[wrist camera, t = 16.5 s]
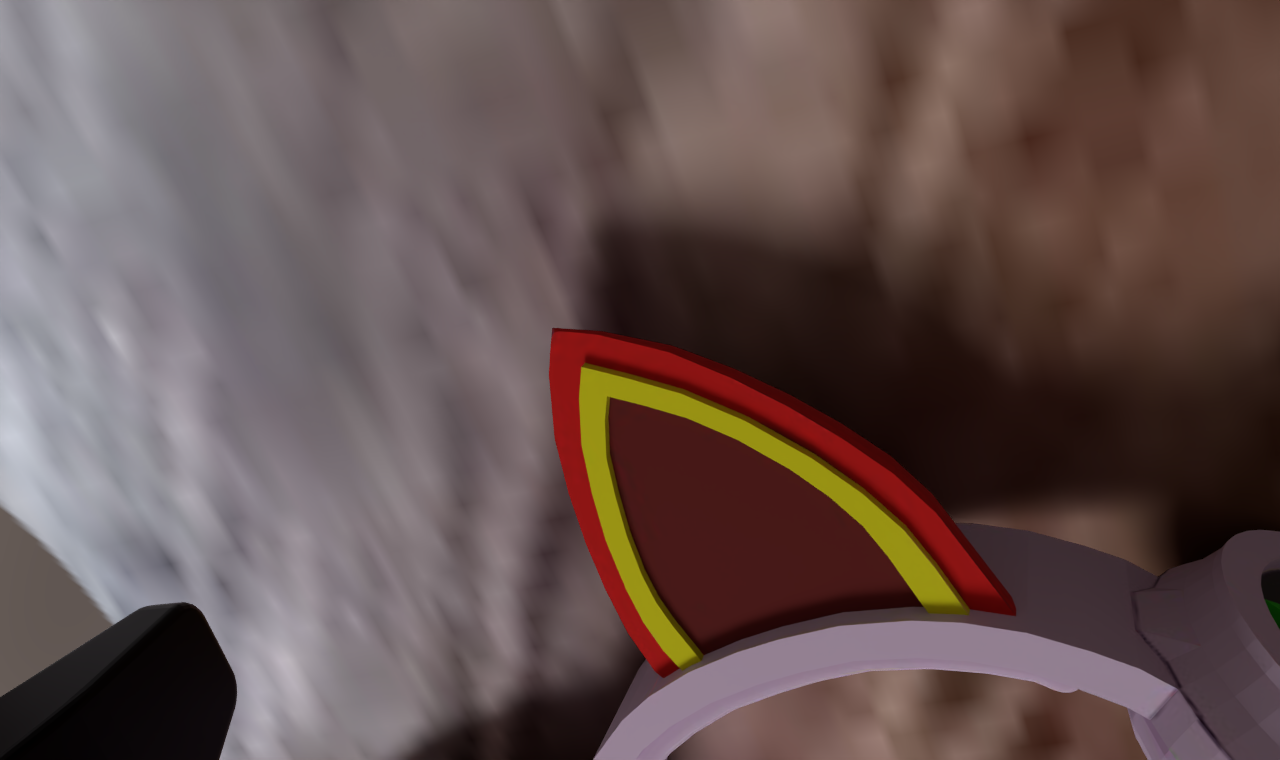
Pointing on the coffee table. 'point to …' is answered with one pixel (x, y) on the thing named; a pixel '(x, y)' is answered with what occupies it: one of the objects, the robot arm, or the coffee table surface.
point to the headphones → (870, 569)
